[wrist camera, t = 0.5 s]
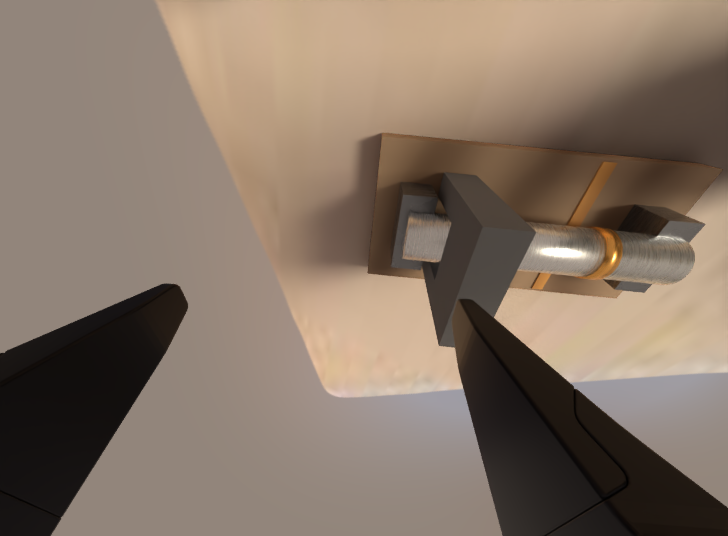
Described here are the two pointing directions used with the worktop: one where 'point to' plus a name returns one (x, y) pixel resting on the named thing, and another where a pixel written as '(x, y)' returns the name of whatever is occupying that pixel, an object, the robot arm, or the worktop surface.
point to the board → (533, 192)
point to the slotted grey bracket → (474, 251)
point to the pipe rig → (562, 243)
